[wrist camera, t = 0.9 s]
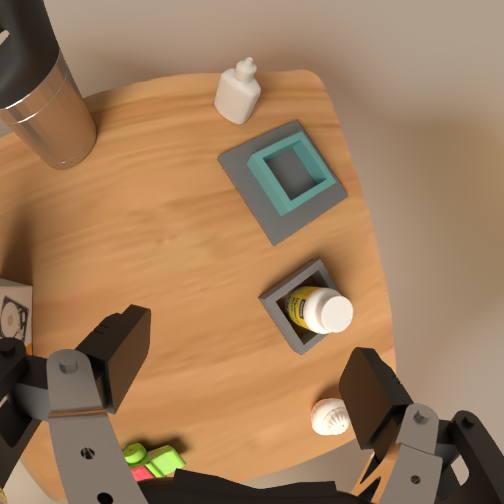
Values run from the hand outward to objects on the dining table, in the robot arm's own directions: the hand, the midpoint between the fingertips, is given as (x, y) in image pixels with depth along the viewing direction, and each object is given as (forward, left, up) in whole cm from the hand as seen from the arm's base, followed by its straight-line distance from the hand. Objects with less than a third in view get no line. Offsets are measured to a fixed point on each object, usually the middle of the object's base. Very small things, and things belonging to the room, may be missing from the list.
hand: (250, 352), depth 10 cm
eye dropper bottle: (-21, +17, -26) cm, 37 cm away
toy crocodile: (+14, -26, -26) cm, 39 cm away
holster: (+8, +10, -25) cm, 29 cm away
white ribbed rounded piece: (+24, +4, -26) cm, 36 cm away
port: (-8, +18, -25) cm, 32 cm away
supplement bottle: (+8, +10, -26) cm, 29 cm away
